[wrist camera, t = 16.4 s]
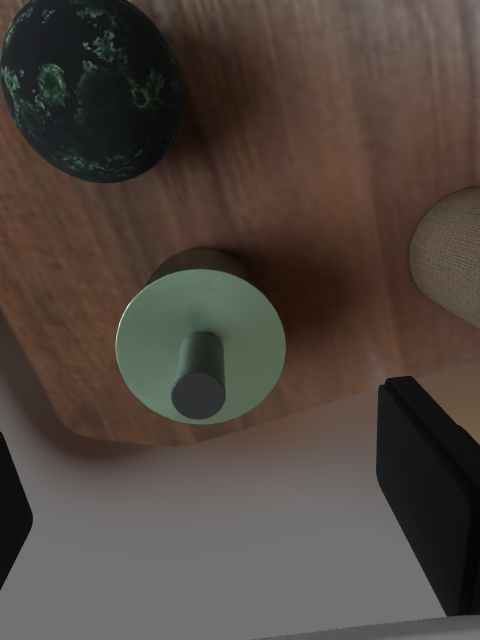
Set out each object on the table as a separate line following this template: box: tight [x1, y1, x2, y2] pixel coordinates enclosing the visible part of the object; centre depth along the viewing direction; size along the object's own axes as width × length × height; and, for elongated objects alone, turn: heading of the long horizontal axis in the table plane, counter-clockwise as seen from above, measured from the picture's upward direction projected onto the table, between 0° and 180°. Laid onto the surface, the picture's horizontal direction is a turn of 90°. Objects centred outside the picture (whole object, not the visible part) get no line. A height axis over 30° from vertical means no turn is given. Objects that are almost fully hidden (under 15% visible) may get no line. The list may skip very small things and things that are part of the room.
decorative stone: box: [0, 0, 182, 183], centre depth 24 cm, size 10×10×10 cm
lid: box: [116, 267, 286, 424], centre depth 24 cm, size 11×11×7 cm
